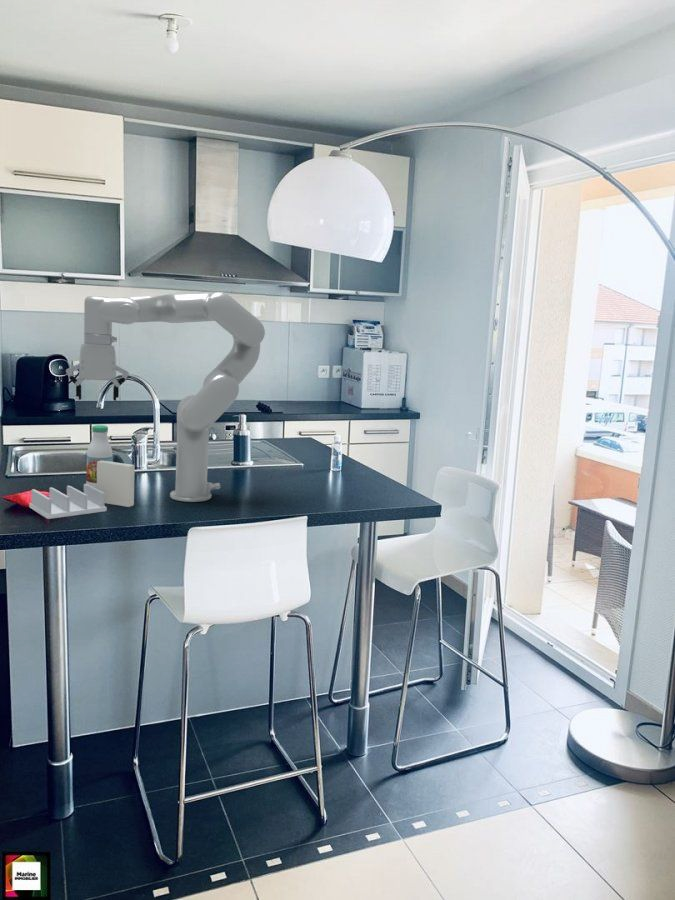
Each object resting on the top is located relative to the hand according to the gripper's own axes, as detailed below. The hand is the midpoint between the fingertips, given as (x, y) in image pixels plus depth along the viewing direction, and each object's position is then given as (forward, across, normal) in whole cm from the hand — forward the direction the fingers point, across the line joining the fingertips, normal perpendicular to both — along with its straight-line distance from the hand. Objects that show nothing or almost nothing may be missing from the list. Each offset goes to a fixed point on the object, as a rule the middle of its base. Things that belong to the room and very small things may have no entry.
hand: (97, 399), depth 216 cm
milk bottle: (+30, -1, -11) cm, 32 cm away
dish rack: (+30, +8, +12) cm, 33 cm away
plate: (+30, -5, +6) cm, 31 cm away
